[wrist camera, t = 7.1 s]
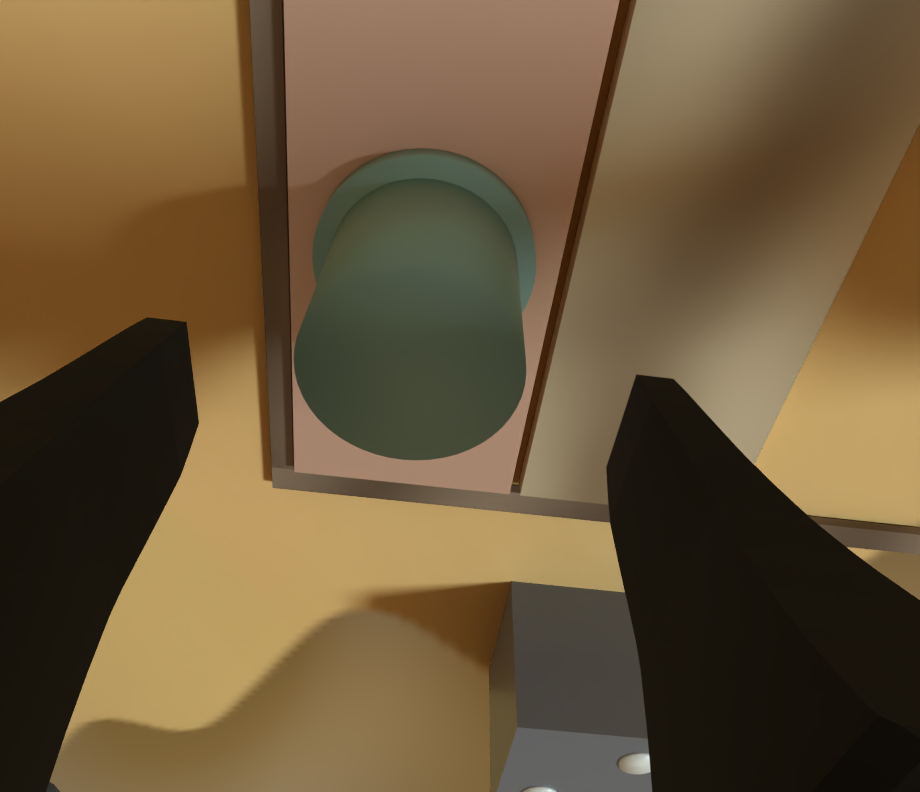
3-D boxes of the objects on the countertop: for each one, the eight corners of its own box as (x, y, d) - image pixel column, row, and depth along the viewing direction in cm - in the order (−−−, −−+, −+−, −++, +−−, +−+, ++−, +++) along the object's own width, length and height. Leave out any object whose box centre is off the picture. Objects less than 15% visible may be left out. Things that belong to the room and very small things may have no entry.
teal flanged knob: (553, 162, 15) (576, 263, 11) (516, 357, 18) (525, 487, 14) (316, 134, 15) (262, 227, 11) (318, 336, 18) (275, 462, 14)
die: (661, 594, 24) (697, 745, 20) (623, 679, 27) (647, 826, 23) (511, 579, 24) (517, 729, 20) (489, 667, 27) (490, 813, 23)
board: (1457, -59, 13) (1494, -55, 12) (967, 552, 22) (978, 567, 22) (242, -245, 12) (232, -249, 11) (274, 480, 21) (270, 495, 21)
